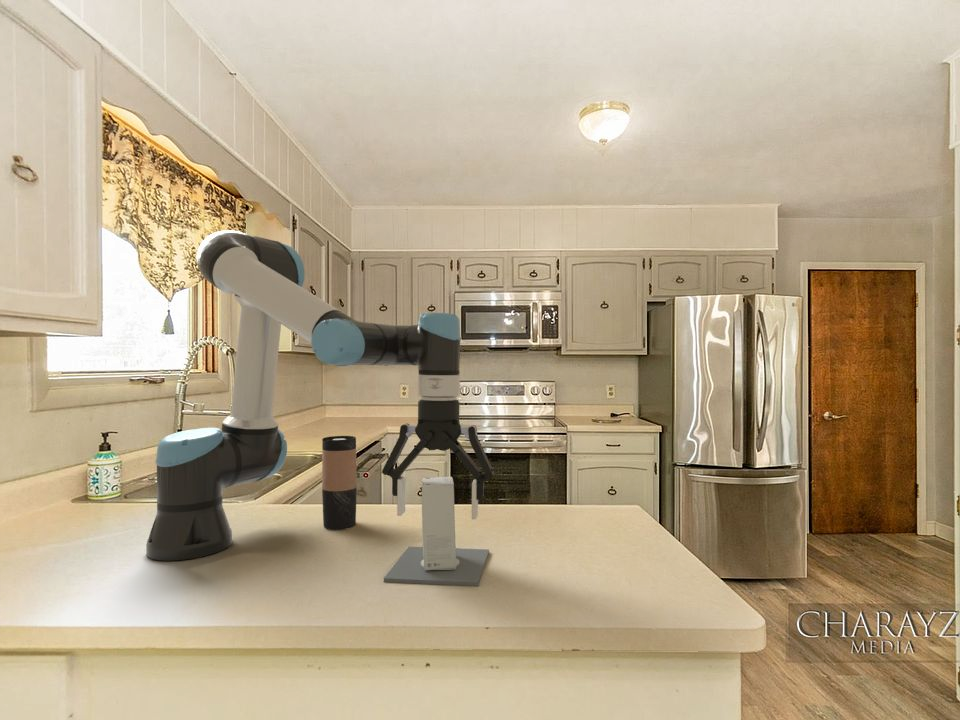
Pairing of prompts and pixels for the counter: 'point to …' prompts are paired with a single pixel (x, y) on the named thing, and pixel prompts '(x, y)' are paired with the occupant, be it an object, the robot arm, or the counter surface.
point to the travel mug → (339, 482)
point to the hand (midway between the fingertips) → (437, 515)
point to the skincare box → (438, 523)
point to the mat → (464, 574)
